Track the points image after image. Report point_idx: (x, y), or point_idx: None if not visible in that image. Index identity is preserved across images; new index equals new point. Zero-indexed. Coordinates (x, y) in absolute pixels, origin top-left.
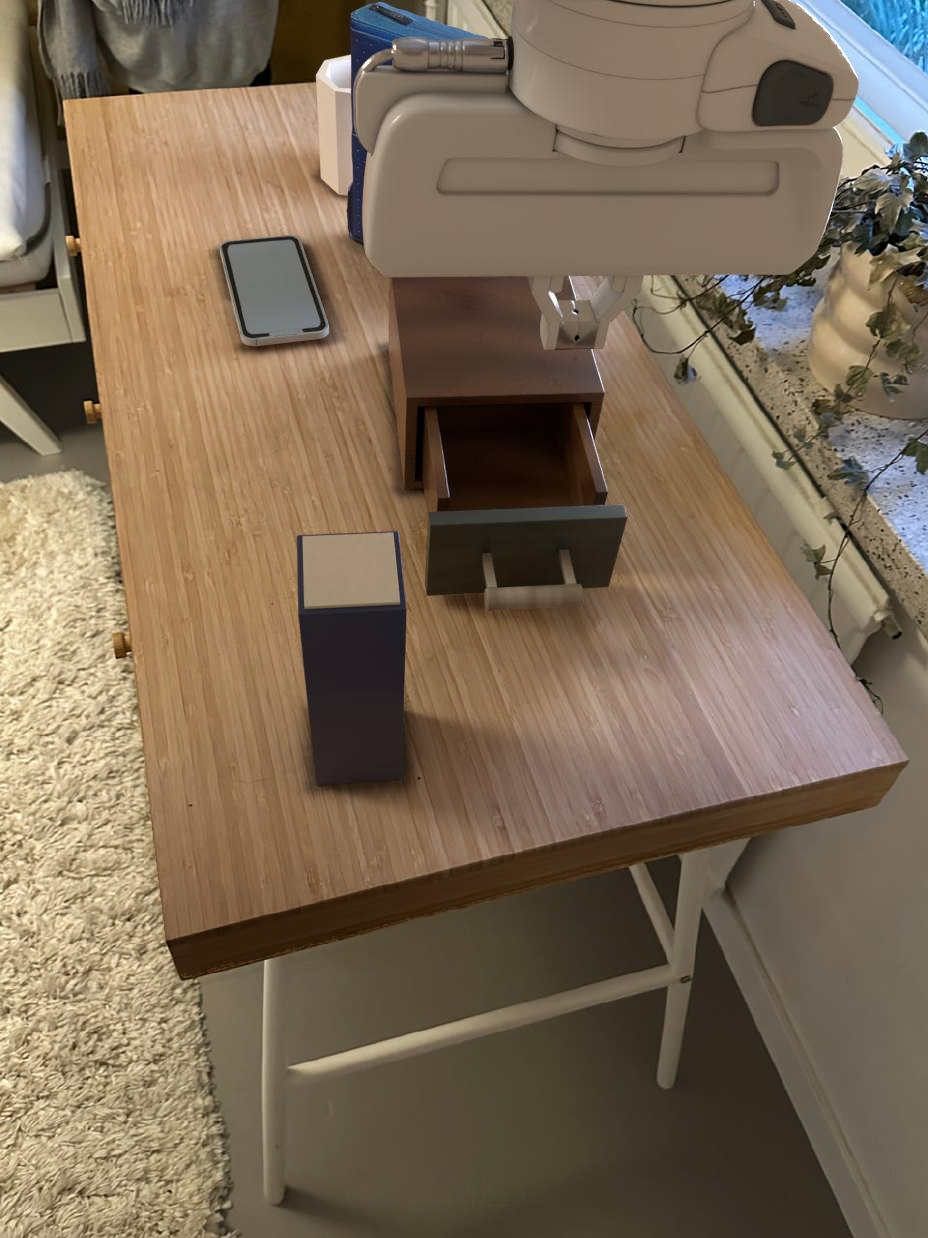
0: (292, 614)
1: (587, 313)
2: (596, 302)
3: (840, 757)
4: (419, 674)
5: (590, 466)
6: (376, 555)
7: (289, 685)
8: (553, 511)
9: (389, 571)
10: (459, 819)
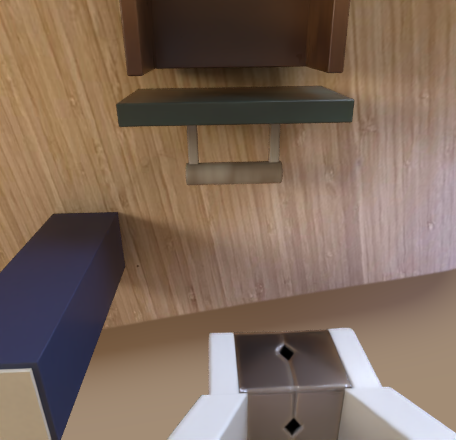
0: (14, 110)
1: (321, 433)
2: (355, 435)
3: (443, 263)
4: (136, 181)
5: (333, 21)
6: (15, 397)
7: (28, 187)
8: (266, 108)
9: (33, 415)
10: (165, 294)
